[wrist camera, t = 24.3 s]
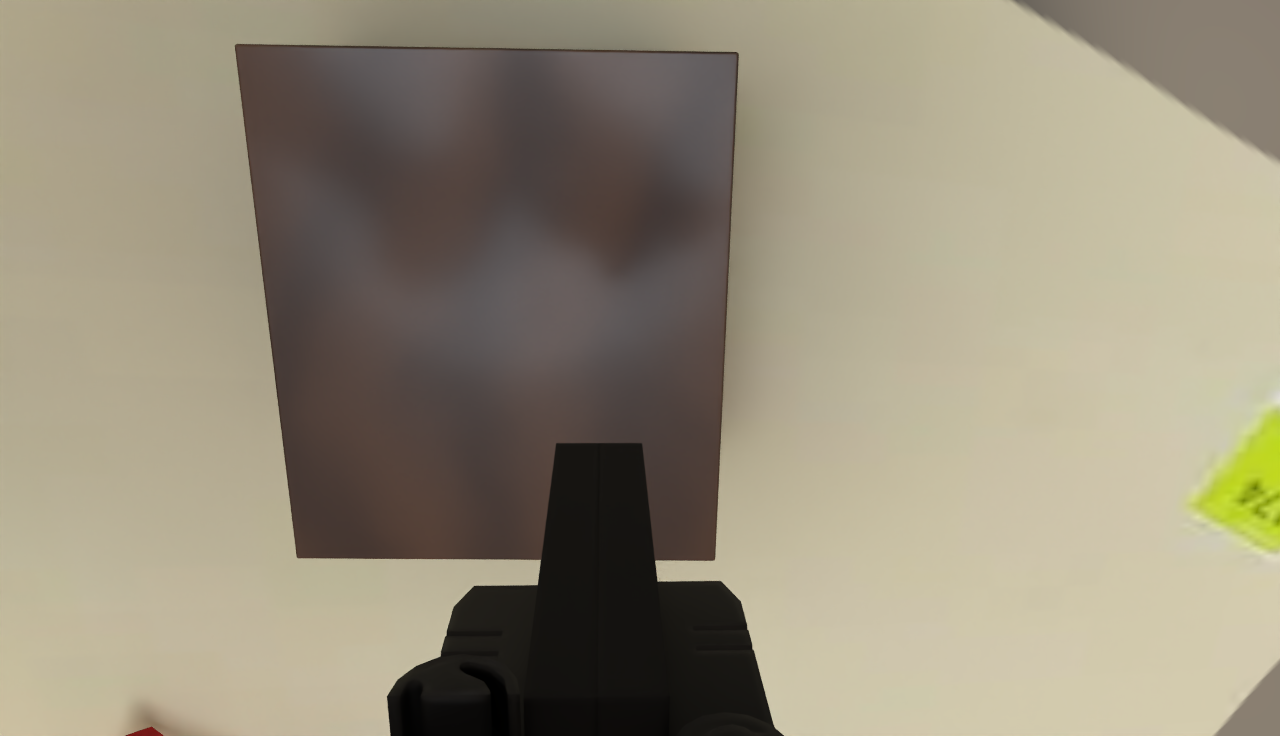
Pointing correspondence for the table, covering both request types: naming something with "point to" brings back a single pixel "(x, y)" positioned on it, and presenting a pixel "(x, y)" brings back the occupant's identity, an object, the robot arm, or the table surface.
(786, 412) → the table surface
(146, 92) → the table surface
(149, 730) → the glasses
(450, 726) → the robot arm
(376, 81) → the lid
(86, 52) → the table surface
